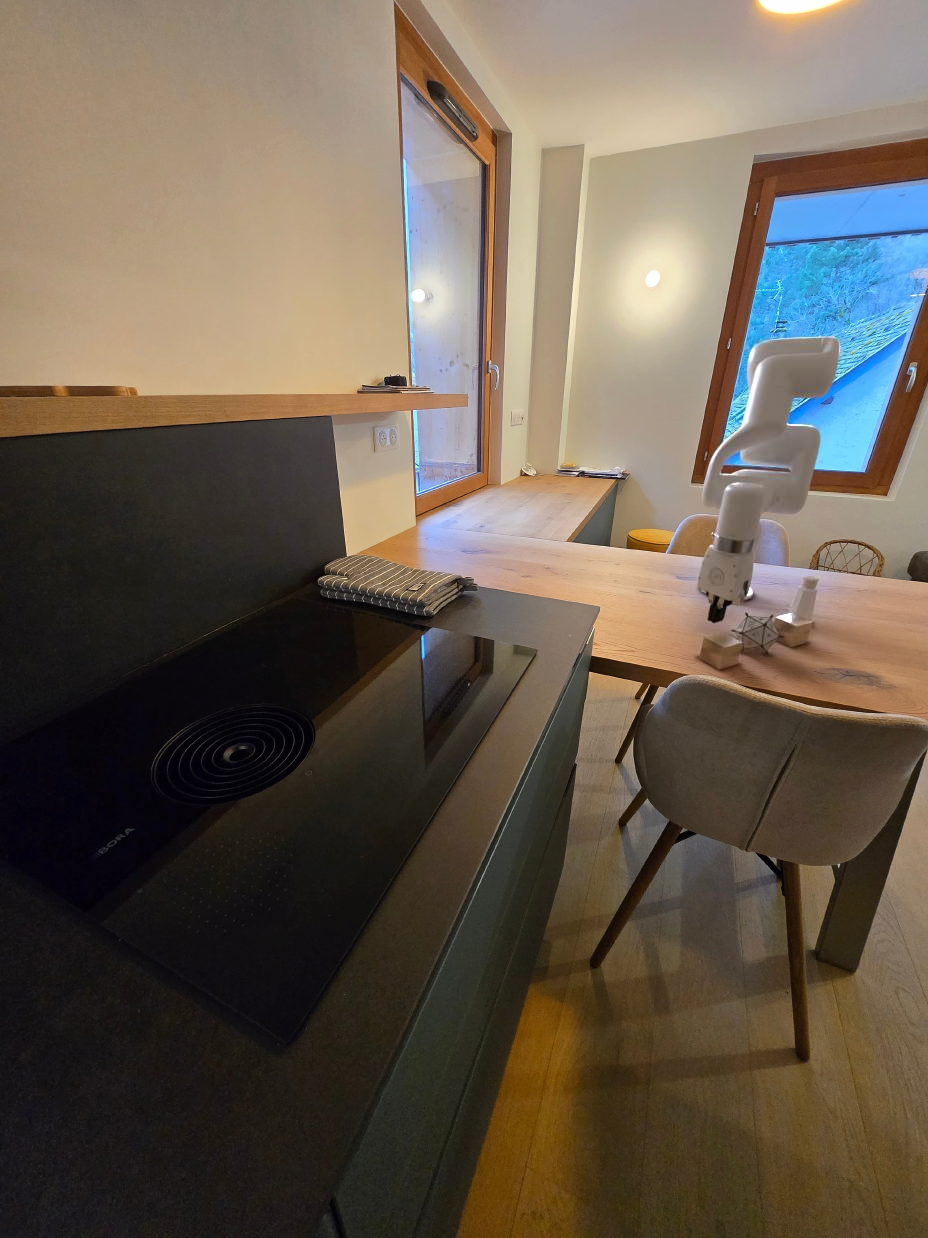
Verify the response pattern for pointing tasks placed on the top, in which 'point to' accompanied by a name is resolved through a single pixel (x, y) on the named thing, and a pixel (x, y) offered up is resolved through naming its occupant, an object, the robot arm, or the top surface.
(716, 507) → the robot arm
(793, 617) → the maple block
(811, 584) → the salt shaker
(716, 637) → the maple block
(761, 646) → the clear faceted polyhedron
